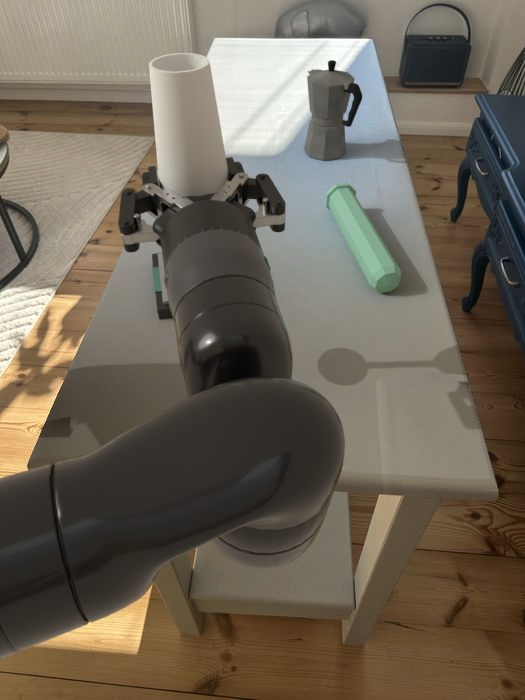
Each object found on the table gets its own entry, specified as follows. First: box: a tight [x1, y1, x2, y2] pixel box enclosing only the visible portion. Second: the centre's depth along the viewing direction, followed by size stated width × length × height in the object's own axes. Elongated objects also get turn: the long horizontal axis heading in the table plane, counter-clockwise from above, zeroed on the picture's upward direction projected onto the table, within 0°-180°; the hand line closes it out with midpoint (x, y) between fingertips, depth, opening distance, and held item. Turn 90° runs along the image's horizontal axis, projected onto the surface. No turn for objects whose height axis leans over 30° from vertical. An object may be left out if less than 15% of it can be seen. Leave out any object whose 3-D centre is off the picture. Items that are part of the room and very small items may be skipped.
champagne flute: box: [148, 52, 230, 197], centre depth 46 cm, size 7×7×24 cm
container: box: [324, 182, 402, 294], centre depth 80 cm, size 6×6×25 cm
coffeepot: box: [303, 59, 363, 161], centre depth 99 cm, size 15×9×18 cm, turn 36°
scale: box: [151, 252, 173, 320], centre depth 76 cm, size 14×14×2 cm
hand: (192, 171), depth 46 cm, fingers closed on champagne flute, 6 cm apart
